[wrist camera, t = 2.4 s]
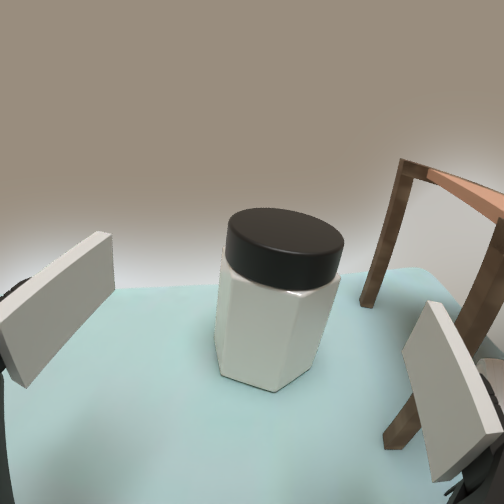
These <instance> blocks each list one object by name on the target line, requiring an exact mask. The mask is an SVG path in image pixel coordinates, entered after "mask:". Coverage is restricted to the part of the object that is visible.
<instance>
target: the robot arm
mask: <svg viewBox="0 0 504 504" xmlns="http://www.w3.org/2000/svg"><path fill="white" fill-rule="evenodd" d="M114 290H115V282H114V268H113V248H112V234H109V233H105V232H100V231H97V232H95V233H94V234H92V235H91V236H89V237H88V238H86V239H85V240H83V241H82V242H80V243H79V244H77V245H76V246H74V247H73V248H72V249H70V250H69V251H67V252H66V253H65V254H63V255H62V256H60V257H59V258H57V259H56V260H55V261H53V262H52V263H50V264H49V265H48V266H46V267H45V268H44V269H42V270H41V271H40V272H38V273H37V274H36V275H34V276H33V277H30V278H28V279H25V280H23V281H21V282H19V283H18V284H16V285H15V286H14V287H12V288H11V290H10V291H8V292H6V293H5V294H4V295H3V296H1V297H0V504H15V502H14V497H13V492H12V486H11V480H10V474H9V467H8V459H7V450H6V438H5V423H4V379H3V375H2V371H3V370H4V369H5V368H6V369H7V371H8V373H9V375H10V377H11V379H12V380H13V381H15V382H16V383H18V384H19V385H21V386H23V387H24V388H26V389H27V388H28V387H29V385H30V384H31V383H32V382H33V380H34V379H35V378H36V377H37V376H38V375H39V373H40V372H41V371H42V370H43V369H44V367H45V366H46V365H47V364H48V363H49V362H50V360H51V359H52V358H53V357H54V356H55V355H56V354H57V352H58V351H59V350H60V349H61V348H62V347H63V346H64V344H65V343H66V342H67V341H68V340H69V339H70V338H71V337H72V335H73V334H74V333H75V332H76V331H77V330H78V329H79V328H80V327H81V326H82V324H83V323H84V322H85V321H86V320H87V319H88V318H89V317H90V316H91V315H92V314H93V313H94V312H95V310H96V309H97V308H98V307H99V306H100V305H101V304H102V303H103V302H104V301H105V300H106V299H107V298H108V297H109V296H110V295H111V294H112V293H113V292H114ZM402 355H403V358H404V361H405V365H406V368H407V372H408V375H409V379H410V383H411V386H412V390H413V394H414V398H415V402H416V406H417V410H418V414H419V418H420V422H421V427H422V431H423V436H424V440H425V445H426V450H427V455H428V460H429V466H430V471H431V477H432V483H435V482H443V481H451V480H452V479H453V478H454V477H456V476H457V475H458V474H459V473H460V472H462V475H463V479H462V480H461V481H460V482H458V483H457V484H456V485H454V486H453V487H452V488H450V489H449V490H448V491H447V492H446V493H445V494H444V496H447V495H448V494H450V493H451V492H453V491H454V492H453V493H452V495H451V497H450V498H449V501H448V502H447V504H504V413H503V411H502V409H501V406H500V405H498V403H499V402H498V399H497V397H496V396H495V393H494V391H493V388H492V386H491V384H490V383H489V381H488V380H487V379H486V378H485V377H484V375H483V374H482V373H479V372H478V370H477V368H476V366H475V364H474V362H473V360H472V358H471V356H470V354H469V352H468V350H467V348H466V346H465V344H464V342H463V340H462V338H461V336H460V335H459V333H458V331H457V329H456V327H455V325H454V324H453V322H452V320H451V318H450V316H449V315H448V313H447V311H446V309H445V308H444V306H443V304H442V303H439V302H434V301H428V300H427V301H426V304H425V306H424V308H423V310H422V312H421V314H420V316H419V318H418V321H417V323H416V325H415V327H414V329H413V331H412V333H411V334H410V336H409V338H408V340H407V342H406V344H405V346H404V348H403V350H402Z"/></svg>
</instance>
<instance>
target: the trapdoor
mask: <svg viewBox="0 0 504 504" xmlns="http://www.w3.org/2000/svg"><path fill="white" fill-rule="evenodd" d="M427 178H428V179H429V180H431V181H433V182H434V183H436V184H438V185H439V186H441V187H442V188H444V189H446V190H447V191H449V192H450V193H452V194H453V195H455V196H456V197H458V198H459V199H461V200H462V201H464V202H465V203H467V204H468V205H470V206H471V207H473V208H474V209H476V210H477V211H478V212H480V213H481V214H483V215H484V216H485V217H487V218H488V219H490V220H491V221H492V222H494V223H495V224H497V221H498V218H499V217H501V218H504V195H502V194H499V193H497V192H494V191H492V190H489V189H487V188H484V187H481V186H479V185H476V184H473V183H471V182H468V181H465V180H462V179H459V178H456V177H454V176H451V175H448V174H445V173H442V172H439V171H436V170H432V169H428V174H427Z"/></svg>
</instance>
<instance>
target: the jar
mask: <svg viewBox="0 0 504 504" xmlns="http://www.w3.org/2000/svg"><path fill="white" fill-rule="evenodd" d="M343 247H344V239H343V237H342V235H341V234H340V232H339V231H338V230H336V229H335V228H334V227H333V226H331V225H330V224H328V223H326V222H324V221H322V220H320V219H318V218H315V217H312V216H310V215H306V214H303V213H299V212H295V211H290V210H284V209H276V208H253V209H246V210H243V211H240V212H237V213H235V214H234V215H233V216H232V217H231V218H230V219H229V222H228V230H227V238H226V245H225V246H224V247H223V249H222V259H221V269H220V279H219V289H218V299H217V310H216V321H215V332H214V341H215V346H216V352H217V357H218V362H219V368H220V373H221V375H223V376H225V377H228V378H231V379H234V380H237V381H240V382H243V383H246V384H249V385H252V386H255V387H259V388H262V389H265V390H268V391H272V392H276V391H278V390H279V389H281V388H282V387H284V386H285V385H287V384H288V383H290V382H291V381H293V380H294V379H296V378H297V377H298V376H300V375H301V374H303V373H304V372H306V371H307V370H308V369H310V368H311V366H312V363H313V361H314V358H315V355H316V352H317V350H318V347H319V344H320V341H321V338H322V335H323V332H324V330H325V327H326V324H327V321H328V318H329V315H330V312H331V309H332V306H333V302H334V299H335V296H336V293H337V290H338V287H339V283H340V280H341V277H340V275H339V274H338V273H337V268H338V265H339V262H340V258H341V254H342V251H343Z"/></svg>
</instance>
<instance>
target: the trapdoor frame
mask: <svg viewBox="0 0 504 504" xmlns="http://www.w3.org/2000/svg"><path fill="white" fill-rule="evenodd" d="M428 169H432V170H436V171H439V172H442V173H445V174H448V175H451V176H454V177H456V178H459V179H462V180H465V181H468V182H471V183H473V184H476V185H479V186H481V187H484V188H487V189H489V190H492V191H494V192H497V193H499V194H502V195H504V194H503V193H500V192H498V191H495V190H493V189H490V188H488V187H485V186H483V185H480V184H477V183H475V182H472V181H469V180H466V179H463V178H461V177H458V176H455V175H452V174H449V173H446V172H443V171H440V170H437V169H434V168H431V167H428V166H425V165H421V164H418V163H415V162H411V161H408V160H405V159H400V161H399V166H398V170H397V174H396V178H395V182H394V186H393V190H392V194H391V199H390V202H389V206H388V210H387V214H386V217H385V221H384V224H383V227H382V231H381V234H380V238H379V241H378V244H377V248H376V251H375V254H374V257H373V260H372V264H371V267H370V270H369V273H368V276H367V279H366V282H365V285H364V287H363V290H362V293H361V296H360V299H359V301H360V305H361V307H367V308H373V305H374V303H375V300H376V297H377V295H378V292H379V289H380V287H381V284H382V281H383V278H384V275H385V273H386V270H387V267H388V264H389V261H390V258H391V255H392V252H393V249H394V246H395V243H396V240H397V236H398V233H399V230H400V226H401V223H402V220H403V216H404V213H405V209H406V205H407V202H408V198H409V195H410V191H411V187H412V183H413V179H414V178H416V179H419V180H423V181H426V182H429V183H433V184H436V183H434V182H433V181H431V180H429V179H428V178H427V174H428ZM436 185H438V184H436ZM503 302H504V218H501V217H499V218H498V221H497V224H496V227H495V230H494V233H493V236H492V239H491V241H490V244H489V247H488V250H487V252H486V255H485V257H484V260H483V262H482V265H481V267H480V270H479V272H478V274H477V277H476V279H475V281H474V284H473V286H472V288H471V290H470V292H469V295H468V297H467V299H466V301H465V303H464V305H463V307H462V309H461V311H460V313H459V315H458V317H457V319H456V321H455V323H454V325H455V327H456V329H457V331H458V333H459V335H460V336H461V338H462V340H463V342H464V344H465V346H466V348H467V350H468V352H469V354H470V356H471V358H473V356H474V354H475V353H476V351H477V349H478V348H479V346H480V344H481V343H482V341H483V339H484V338H485V336H486V334H487V332H488V330H489V329H490V327H491V325H492V323H493V321H494V320H495V318H496V316H497V314H498V312H499V310H500V308H501V306H502V304H503ZM420 428H421V422H420V418H419V414H418V410H417V406H416V402H415V398H414V394H413V393H412V395H411V396H410V398H409V399H408V401H407V402H406V404H405V405H404V406H403V408H402V409H401V411H400V412H399V413H398V415H397V416H396V417H395V419H394V420H393V421H392V423H391V424H390V425H389V427H388V428H387V429H386V431H385V432H384V433H383V440H384V448H385V449H403V448H404V446H405V445H406V444H407V443H408V442H409V441H410V440H411V439H412V438H413V436H414V435H415V434H416V433H417V432H418V431H419V430H420Z"/></svg>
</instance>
